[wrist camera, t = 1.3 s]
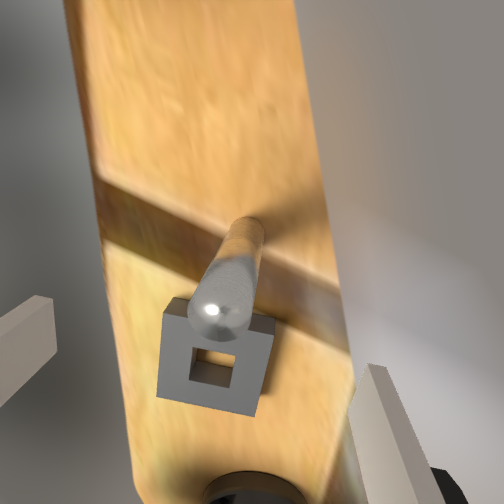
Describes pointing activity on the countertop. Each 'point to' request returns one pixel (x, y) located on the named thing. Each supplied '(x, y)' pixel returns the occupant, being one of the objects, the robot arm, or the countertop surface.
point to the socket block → (210, 375)
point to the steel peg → (229, 284)
